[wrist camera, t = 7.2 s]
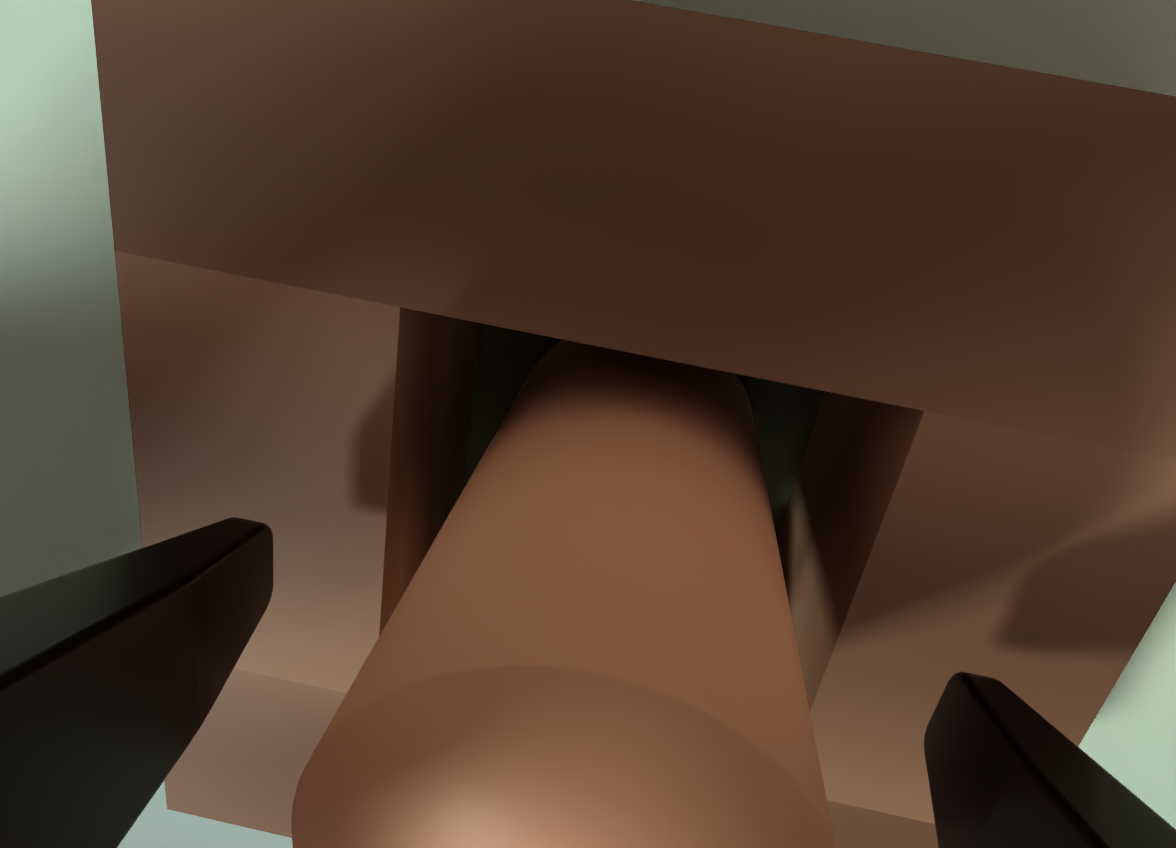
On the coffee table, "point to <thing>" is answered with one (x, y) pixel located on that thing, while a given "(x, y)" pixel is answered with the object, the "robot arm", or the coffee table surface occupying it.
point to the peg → (587, 640)
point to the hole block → (649, 332)
